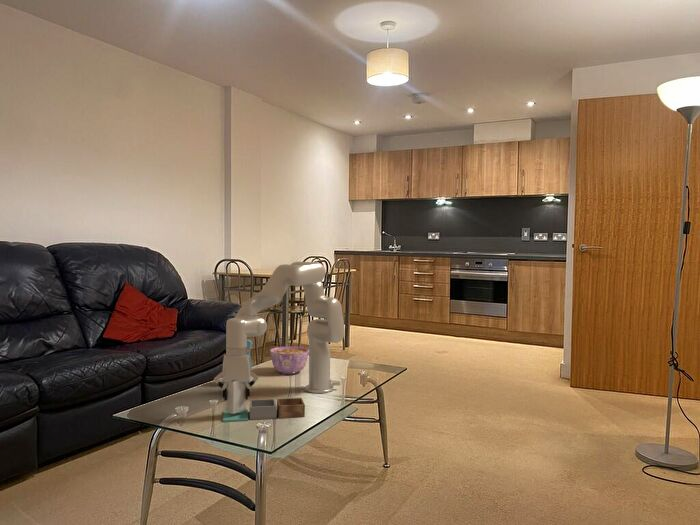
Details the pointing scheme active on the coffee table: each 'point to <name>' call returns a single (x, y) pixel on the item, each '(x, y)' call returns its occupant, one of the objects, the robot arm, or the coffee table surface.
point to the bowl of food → (289, 359)
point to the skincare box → (236, 397)
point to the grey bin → (263, 409)
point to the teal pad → (235, 416)
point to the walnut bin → (290, 407)
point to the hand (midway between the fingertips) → (236, 398)
